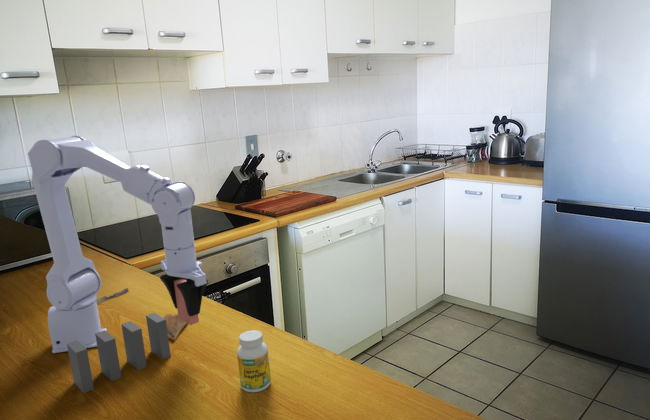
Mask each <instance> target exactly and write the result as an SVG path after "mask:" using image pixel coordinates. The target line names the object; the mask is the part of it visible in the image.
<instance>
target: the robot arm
mask: <svg viewBox="0 0 650 420" xmlns="http://www.w3.org/2000/svg"><path fill="white" fill-rule="evenodd" d="M27 156H28V159H29V163H30V168H31V171H32V173H31V179H32V185H33V188H34V192H35V193H34V194H35V197H36V200H37V203H38V207H39V211H40V215H41V217H42V218H41V220H42V223H43V225H44V229H45V233H46V236H47V241H48V244H49V248H50V253H51V256H52V259H53V265H52V266H51V268H50V269H49V271H48V273H46V276H45V279H46V283H47V285H46V297H47V300H48V302H49V303H50V304H51V306H50V307H49V309H48V311H47V326H48V332H49V338H50V342H51V346H52V350H51V353H52V354H57V353H64V352H68V348H67V343H70V342H73V341H76V340H78V341H79V342H80V343H81V344H82V345H83V346H84V347H85V348H86V349H89V348H90V349H91V348H96V347H97V342H96V336H95V333H98V332H101V331H104V330H105V331H106V332H108V330H107V328H105V327H104V328H102V325H101V321H100V313H99V309H98V305H97V302H96V300H97V298H98V297H99V296H98V292H99V291H100V289H101V288H102V277H101V276H100V273H99V272H98V271H97V269H96V268H95V264H94V261H93V260H92V259H89V258H86V257H85V256H84V255H83V251H82V247H81V244H80V239H79V235H78V231H77V228H76V224H75V220H74V216H73V213H72V212H73V211H72V208H71V204H70V200H69V195H68V193H67V189H66V184H67V182H68V180H69V179H70V178H71V176H72V175H73V174H74V173H76V172H77V171H79V170H80V169H82V168H88V169H90V170H92V171H94V172H97V173H99V174H101V175H104V176H106V177H108V178H110V179H112V180H115V181H117V182H120V183H121V186H122V187H121V188H122V189H123V191H124V192H125V193H127V194H129V195H130V196H133V197H135V198H137V199H139V200H140V201H143V202H144V203H146V204H148V205H151V208H152V210H153V211H154V213H155V214H156V216H157V217H158V220H159V224H160V226H161V233H162V234H161V235H162V240H163V241H162V242H163V250H164V257H165V259H163V260H160V266H161V267H160V268H161V270H162V271H164V272H165V273H164V274H162V275H160V276H159V278H160V280H161V282H162V283H163V285H164V286H165V287H166V289H167V292H168V293H169V296H170V299H171V301H172V304H173V306H174V307H175V309H177V302H176V294H175V286H174V281H175V280H178V279H184V280H186V282H183V283H180V284H177V287H178V289H179V290H180V292H181V293H182V296H183V298H184V301H185V305H186V309H187V312H188V315H189V316H194V315H196V314H198V315H199V314H200V313H201V306H202V301H203V296H204V292H205V289H206V287H207V286H208V284H209V282H208V279H207V274H206V273H204V272H203V271H202V269H201V267H203V262H202V261H199V260H197V253H196V245H195V238H194V228H193V219H192V211H191V208H192V207H193V206H194V204H195V202H196V195H195V192H194V189H193V188H192V187H191V186H190V185H188V184H187V183H186V182H185V181H181V180H178V181H174V182H173V181H171V178H169V177H167V176H166V177H163V176H161V175H159V174H157V173H156V172H154V171H152V170H151V169H150V166H148V165H146V164H143V165H142V164H141V165H138V164H137V165H133V166H129V165H127V164H125V162H122V161H120V160H119V159H117V158H116V157H114V156H112V155H111V154H108V153H107V152H106V151H104V150H102V149H100V148H99V147H97V146H96V145H95V144H94V143H93V141H92V140H89V139H86V138H85V137H83V136H81V135H72V136H67V137H61V138H60V137H59V138H51V139H41V140H40V139H39V140H37V141H36V142H35V143H34V144H33V146H32V147H31V148H30V150H29V151H28V153H27Z"/></svg>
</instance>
